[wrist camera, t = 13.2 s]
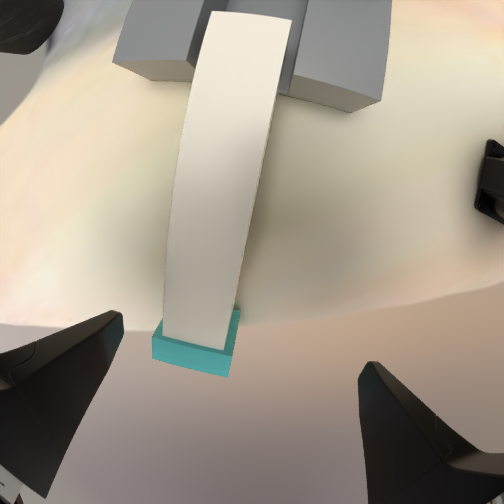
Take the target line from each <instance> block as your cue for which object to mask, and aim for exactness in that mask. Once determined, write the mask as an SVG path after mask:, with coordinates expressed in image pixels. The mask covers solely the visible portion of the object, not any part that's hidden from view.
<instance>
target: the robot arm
mask: <svg viewBox="0 0 504 504" xmlns="http://www.w3.org/2000/svg"><path fill="white" fill-rule="evenodd" d="M492 145H493V146H492ZM479 205H480V207H479ZM475 208H476V210H478V211H480V212H482V213H484V214H486V215H488V216H489V217H491V218H493V219H495V220H497V221H499V222H501V223H502V224H504V147H503V146H502V145H500V144H499V143H498V142H496V141H495V140H492V139H490V140H488V143H487V149H486V156H485V161H484V167H483V172H482V176H481V181H480V185H479V190H478V194H477V198H476V201H475ZM123 334H124V326H123V316H122V314H121V313H120V312H117V311H114V310H110V311H108V312H105V313H103V314H100V315H98V316H95V317H93V318H91V319H88V320H86V321H83V322H81V323H78V324H76V325H74V326H71V327H69V328H66V329H64V330H61V331H59V332H56V333H54V334H52V335H49V336H47V337H44V338H42V339H39V340H37V342H36V341H34V342H32V343H30V344H27V345H24V346H22V347H19V348H17V349H14V350H10V351H7V352H4V353H0V504H23V501H22V498H21V496H20V493H19V492H20V490H21V488H22V486H23V484H24V485H26V486H27V487H29V488H30V489H31V490H33V491H34V492H36V493H37V494H39V495H40V496H41V497H43V498H45V499H46V497H47V495H48V492H49V490H50V487H51V485H52V483H53V480H54V478H55V476H56V473H57V471H58V469H59V466H60V464H61V462H62V460H63V457H64V455H65V453H66V451H67V449H68V446H69V445H70V442H71V440H72V438H73V436H74V434H75V432H76V430H77V428H78V426H79V424H80V422H81V420H82V418H83V416H84V414H85V412H86V410H87V408H88V407H89V405H90V403H91V401H92V399H93V397H94V395H95V394H96V392H97V390H98V388H99V386H100V384H101V383H102V381H103V379H104V377H105V375H106V374H107V372H108V370H109V368H110V365H111V363H112V361H113V358H114V356H115V353H116V351H117V349H118V347H119V344H120V342H121V340H122V338H123ZM358 397H359V417H360V425H361V432H362V439H363V448H364V457H365V466H366V478H367V490H368V504H504V453H485V452H483V451H481V450H479V449H477V448H476V447H475V446H473V445H472V444H471V443H469V442H468V441H467V440H466V439H464V438H463V437H462V436H460V435H459V434H458V433H456V432H455V431H454V430H453V429H451V428H450V427H449V426H448V425H447V424H446V423H445V422H444V421H442V420H441V419H440V418H439V417H438V416H436V414H435V413H434V412H433V411H432V410H431V409H429V408H428V407H427V406H426V405H425V404H424V403H423V402H422V401H421V400H420V399H419V398H418V397H416V396H415V395H414V394H413V393H412V392H411V391H410V390H409V389H408V388H407V387H405V386H404V385H403V384H402V383H401V382H400V381H399V380H398V379H396V377H395V376H394V375H392V374H391V373H390V372H389V371H388V370H387V369H386V368H385V367H383V365H381V364H380V363H379V362H377V361H369V362H367V364H366V365H365V367H364V369H363V370H362V372H361V374H360V375H359V378H358Z"/></svg>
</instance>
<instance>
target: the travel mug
mask: <svg viewBox="0 0 504 504" xmlns="http://www.w3.org/2000/svg"><path fill="white" fill-rule="evenodd" d="M63 6H64V3H63V0H0V52H4V53H13V54H23V55H25V54H30V53H32V52H33V51H35V50H36V49H38V48H39V47H40V46H41V45H42V44H43V43H44V42H45V41H46V40H47V38H48V37H49V36H50V35H51V33H52V32H53V30H54V29H55V27H56V25H57V24H58V22H59V20H60V17H61V15H62V12H63Z"/></svg>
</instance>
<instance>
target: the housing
mask: <svg viewBox="0 0 504 504" xmlns="http://www.w3.org/2000/svg"><path fill="white" fill-rule="evenodd" d="M391 7H392V0H133V1H132V4H131V6H130V9H129V12H128V14H127V17H126V20H125V22H124V25H123V28H122V31H121V34H120V37H119V40H118V43H117V47H116V50H115V54H114V57H113V61H112V63H115V64H117V65H119V66H121V67H124V68H126V69H128V70H130V71H132V72H135V73H137V74H139V75H141V76H143V77H145V78H147V79H149V80H159V81H184V82H193V78H194V73H195V69H196V65H197V61H198V57H199V54H200V50H201V46H202V43H203V39H204V36H205V32H206V29H207V25H208V22H209V19H210V16H211V12H212V11H222V12H236V13H247V14H256V15H263V16H270V17H276V18H282V19H288V20H292V23H291V29H290V35H289V41H288V47H287V52H286V57H285V61H284V66H283V71H282V75H281V80H280V84H279V89H278V94H281V95H285V96H290V97H294V98H298V99H303V100H307V101H311V102H315V103H318V104H322V105H326V106H329V107H333V108H336V109H339V110H343V111H346V112H349V113H352V112H354V111H357V110H359V109H361V108H364V107H366V106H369V105H372V104H374V103H377V102H379V101H381V96H382V90H383V84H384V77H385V70H386V62H387V54H388V45H389V35H390V23H391Z"/></svg>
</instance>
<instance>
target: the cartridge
mask: <svg viewBox="0 0 504 504" xmlns="http://www.w3.org/2000/svg"><path fill="white" fill-rule="evenodd" d="M291 23H292V20H288V19H282V18H276V17H270V16H263V15H256V14H247V13H236V12H222V11H212V12H211V16H210V19H209V22H208V25H207V29H206V32H205V36H204V39H203V43H202V46H201V50H200V54H199V57H198V61H197V65H196V69H195V73H194V78H193V82H192V86H191V91H190V95H189V100H188V104H187V109H186V114H185V119H184V124H183V130H182V135H181V141H180V147H179V153H178V159H177V165H176V172H175V179H174V186H173V194H172V202H171V210H170V219H169V229H168V239H167V251H166V264H165V279H164V300H163V318H162V320H161V322H160V324H159V325H158V327H157V329H156V331H155V332H154V334H153V336H152V358H153V359H156V360H159V361H163V362H166V363H170V364H173V365H177V366H181V367H185V368H189V369H193V370H197V371H201V372H206V373H210V374H214V375H219V376H224V377H228V373H229V369H230V364H231V359H232V354H233V350H234V344H235V339H236V333H237V328H238V322H239V317H240V311H236V310H233V306H234V301H235V296H236V291H237V286H238V281H239V276H240V271H241V266H242V261H243V256H244V251H245V246H246V242H247V237H248V232H249V227H250V222H251V217H252V212H253V207H254V203H255V198H256V193H257V188H258V183H259V178H260V174H261V169H262V164H263V159H264V155H265V150H266V145H267V140H268V136H269V131H270V126H271V122H272V117H273V112H274V107H275V103H276V98H277V94H278V89H279V84H280V80H281V75H282V71H283V66H284V61H285V57H286V52H287V47H288V41H289V35H290V29H291Z"/></svg>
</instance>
